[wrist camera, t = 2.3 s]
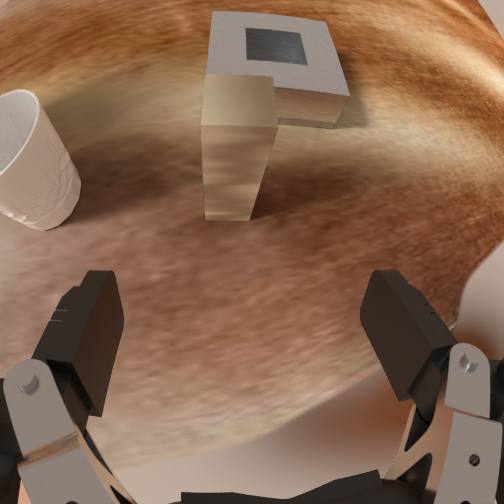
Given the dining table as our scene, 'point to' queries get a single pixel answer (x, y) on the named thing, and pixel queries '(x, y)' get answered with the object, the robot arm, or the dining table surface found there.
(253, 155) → the square wooden peg
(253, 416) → the dining table surface
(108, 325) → the robot arm
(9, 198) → the white cup
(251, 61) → the grey square socket block
